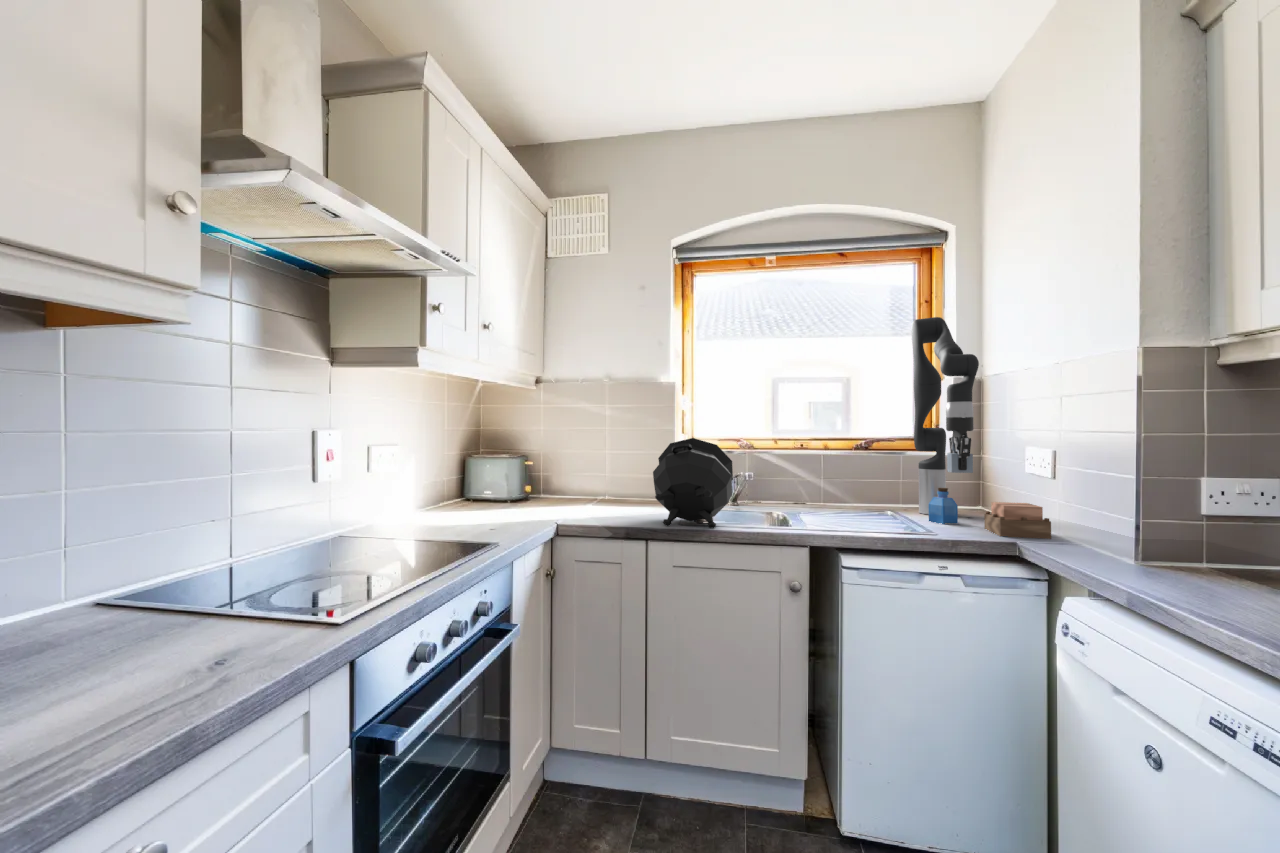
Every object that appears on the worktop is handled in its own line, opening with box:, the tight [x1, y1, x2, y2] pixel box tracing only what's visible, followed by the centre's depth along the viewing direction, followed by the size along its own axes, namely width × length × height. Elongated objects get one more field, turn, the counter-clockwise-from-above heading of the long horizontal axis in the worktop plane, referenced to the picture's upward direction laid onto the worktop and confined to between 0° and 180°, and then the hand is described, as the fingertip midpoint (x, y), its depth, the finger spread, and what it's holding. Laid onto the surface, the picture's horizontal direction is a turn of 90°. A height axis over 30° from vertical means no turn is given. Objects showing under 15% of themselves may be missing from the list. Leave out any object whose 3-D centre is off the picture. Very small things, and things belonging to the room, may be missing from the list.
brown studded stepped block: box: [983, 501, 1052, 540], centre depth 163 cm, size 13×13×9 cm
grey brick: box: [946, 452, 974, 474], centre depth 170 cm, size 4×6×6 cm
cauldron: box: [652, 437, 734, 529], centre depth 179 cm, size 28×28×24 cm
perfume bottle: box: [928, 487, 959, 525], centre depth 185 cm, size 6×6×12 cm
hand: (960, 469), depth 170 cm, fingers closed on grey brick, 4 cm apart
